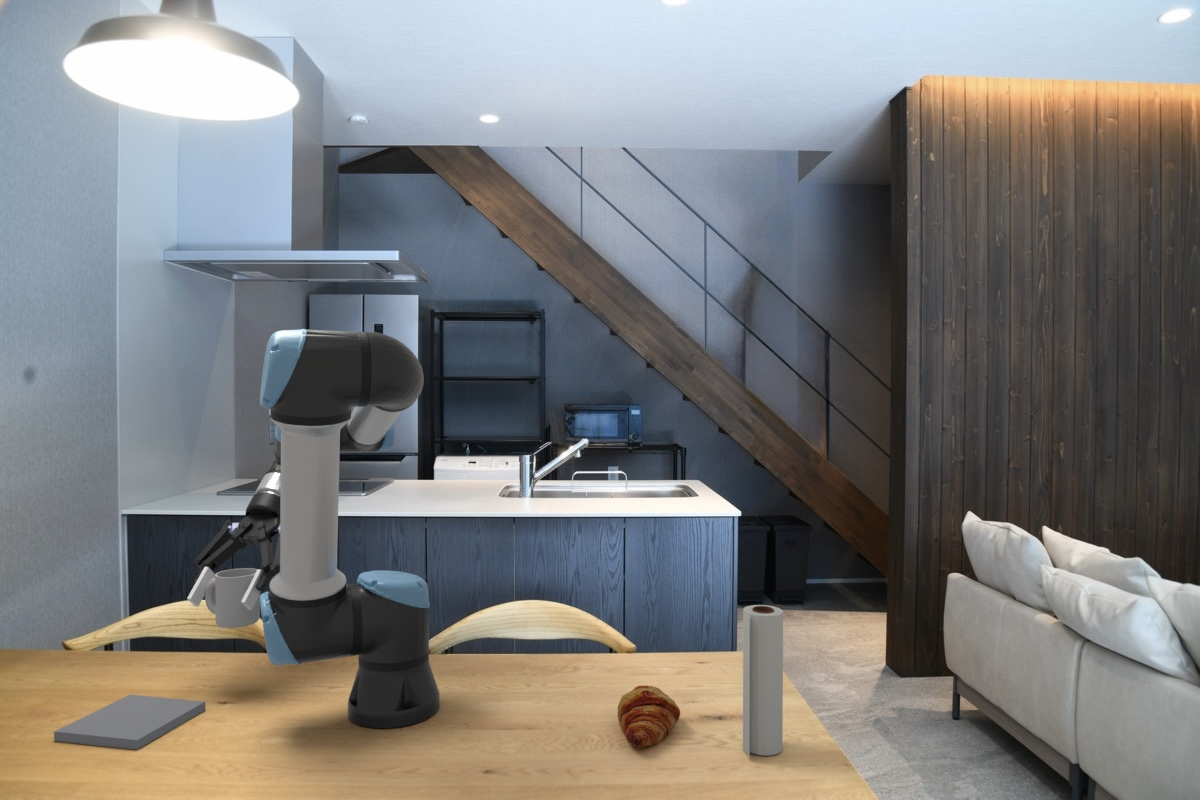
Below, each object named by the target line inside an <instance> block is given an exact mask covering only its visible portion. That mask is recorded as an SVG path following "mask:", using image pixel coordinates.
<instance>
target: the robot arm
mask: <svg viewBox="0 0 1200 800" xmlns="http://www.w3.org/2000/svg"><path fill="white" fill-rule="evenodd" d="M267 341H268V342H267V345H266V349H265V354H264V360H263V364H262V365H263V367H262V375H261V381H260V382H261V386H260V393H259V394H260V395H259V405H260V406H261V407H262V408H265V409H267V410H269V411H270V413H269V414H270V418H269V419H270V420H271V421H272V423H274V424H275V425H276V426H275V428H274V429H275V430H274V449H273V457H272V461H271V463H270V465H269V467H268V469H267V471H266V473H265V474H264V476H263V478H262V479H261V481H260V483H259V484H258V486H257V488H256V490H255V492H254V494H253V496H252V497H251V498H250V501H249V503H248V505H247V507H246V509H245V515H244V517H243V518H242V519H241V520H240V521H239V522H232V521H231V519H227V520H226V521H225V522H224V523H223V525H222V528H221V529H220V531H219V532H218V533H217V534H216V535H215V536H214V538H213V539H212V540H211V541H210V542H209V543H208V544H207V545H206V547H204V548H203V550H202V551H201V552H200V553H199V554H198V555H197V556H196V557H195V559H194V560H193V562H194V564H195V565H196V566H197V567H198V568H199V571H198V573H197V575H196V576H195V578H194V580H193V587H192V589H191V591H190V592H189V594H188V596H187V598H186V599H187V601H189V602H190V603H191V604H192V606H194V607H197V608H198V607H199V606H200V604H201V602H202V601H203V599H204V598H205V591H206V587H207V584H208V583H209V581H210V580H211V579H212V578H215V574H216V573H214V572H215V571H216V570H217V569H219V568H220V567H221V566H222V565H223V564H224V563H225V562H226V561H228V560H229V559H230V558H231V557H232V556H233V555H235V554H236V553H237V552H238V551H239V550H244V549H245V548H246V547H247V546H253V545H256V546H260V555H261V564H262V565H260V568H261V569H260V568H259V569H257V568H256V569H257V571H256V573H255V575H254V577H253V579H252V581H251V583H250V585H249V587H248V589H247V591H246V593H245V595H244V597H243V599H242V601H241V602H242V604H243V605H244V606H245V607H246V608H247V609H248V610H252V609H253V607H254V605H255V603H256V601H257V599H258V597H259V595H260V616H261V622H262V627H263V635H264V642H265V648H266V653H267V657H268V660H269V662H271V664H273V665H275V666H288V665H297V666H299V665H302V664H304V663H313V662H318V661H326V660H327V661H328V660H333V659H334V660H335V659H340V658H347V657H354V656H358V669H357V672H356V675H355V678H354V682H353V684H352V687H351V691H350V694H349V697H348V699H347V716H348V719H349V720H350V722H352V723H354V724H356V725H358V726H361V727H366V728H371V729H390V728H391V729H393V728H400V727H406V726H410V725H415V724H417V723H420V722H423V721H425V720H427V719H429V718H432V717H433V716H434V715H436V713H437V712H438V711H439V709H440V691H439V690H440V689H439V687H438V685H437V682H436V679H435V676H434V673H433V670H432V666H431V664H430V608H431V607H430V606H431V603H430V596H429V587H428V583H427V582H426V580H425V579H424V578H422V577H421V576H419V575H416V574H413V573H410V572H405V571H397V570H383V569H382V570H369V571H363V572H361V573H359V575H358V576H357V579H356V583H350V584H348V583H347V577H346V575H345V574H344V573H343V572H342V571H340V570H339V569H338V538H339V537H338V536H339V535H338V534H339V532H338V531H339V495H340V490H339V489H340V459H341V458H340V454H343V453H344V454H345V453H346V454H347V453H378V452H388V451H390V450H392V448H393V446H394V442H395V436H396V435H395V434H396V433H395V421H396V420H397V418H398V417H399V415H400V414H401V412H403V411H405V410H408V409H409V408H410V407H412V405H414V403H415V402H416V401H417V400H418V398H419V396H421V393H422V390H423V387H424V381H425V380H424V379H425V378H424V377H425V376H424V372H423V367H422V365H421V364H420V361H419V359H418V358H417V355H415V354H414V352H413V351H412V350H411V349H410V348H409V347H408V346H407V345H406V344H405V343H403V342H402V341H400V340H398V339H397V338H395V337H393V336H390V335H388V334H386V333H385V334H384V333H380V332H376V331H349V330H348V331H347V330H329V329H328V330H324V329H323V330H321V329H306V328H300V329H283V330H277V331H275V332H274V333H272V334H271V335H270V337H269V339H268V340H267ZM352 408H353V410H352ZM277 535H278V536H277ZM275 536H277V542H276V548H275V553H274V552H273V548H274V542H273V538H274V537H275ZM240 539H241V540H242V541H241V540H240ZM268 585H269V591H266V589H267V587H268ZM261 592H263V593H261Z"/></svg>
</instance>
